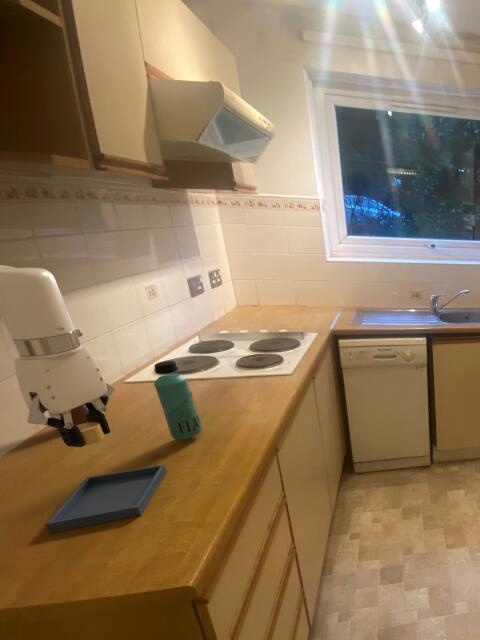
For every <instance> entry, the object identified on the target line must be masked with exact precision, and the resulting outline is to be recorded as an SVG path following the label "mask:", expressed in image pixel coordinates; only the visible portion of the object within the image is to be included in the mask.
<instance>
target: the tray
mask: <svg viewBox="0 0 480 640" xmlns="http://www.w3.org/2000/svg"><path fill="white" fill-rule="evenodd" d="M166 474H168V470H167V468H166V465H165V464H159V465H152V466H147V467H140V468H134V469H128V470H120V471H116V472H109V473H104V474H97V475H92V476H86V478H85V479H84V480H83V481H82V482H81V483H80V484H79V486H78V487H77V488H76V489H75V490H74V491H73V492H72V493H71V495H70V496H69V497H68V498H67V499H66V500H65V502H64V503H63V504H61V506H60V507H59V508H58V509H57V510H56V512H54V514H53V515H52V516H51V517H50V518H49V520H48V521H47V522H46V523H45V526H46V530H47V531H48V533H49V534H54V533H59V532H64V531H69V530H73V529H74V530H75V529H79V528H85V527H90V526H95V525H101V524H105V523H111V522H114V521H121V520H125V519H130V518H135V517H141V516H142V514H143V513H144V512H145V510H146V508H147V506H148V505H149V503H150V501H151V500H152V499H153V496H154V495H155V493H156V492H157V490H158V488H159V486H160V485H161V483H162V481H163V480H164V478H165V476H166Z"/></svg>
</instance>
